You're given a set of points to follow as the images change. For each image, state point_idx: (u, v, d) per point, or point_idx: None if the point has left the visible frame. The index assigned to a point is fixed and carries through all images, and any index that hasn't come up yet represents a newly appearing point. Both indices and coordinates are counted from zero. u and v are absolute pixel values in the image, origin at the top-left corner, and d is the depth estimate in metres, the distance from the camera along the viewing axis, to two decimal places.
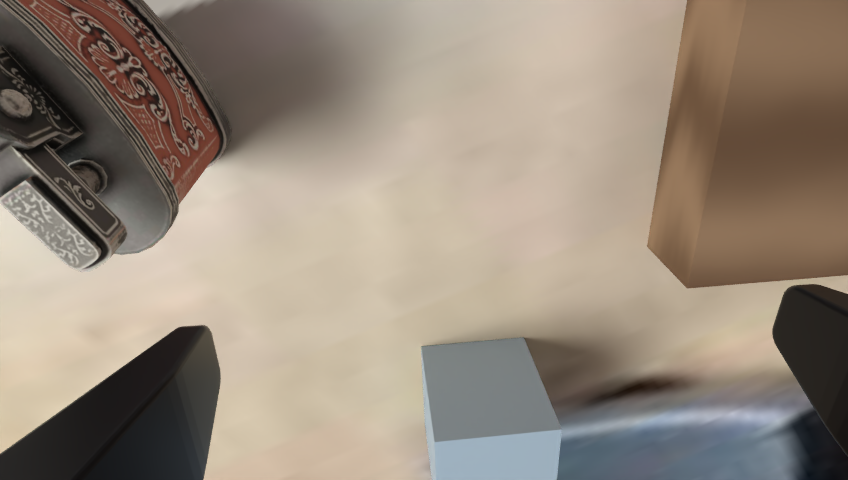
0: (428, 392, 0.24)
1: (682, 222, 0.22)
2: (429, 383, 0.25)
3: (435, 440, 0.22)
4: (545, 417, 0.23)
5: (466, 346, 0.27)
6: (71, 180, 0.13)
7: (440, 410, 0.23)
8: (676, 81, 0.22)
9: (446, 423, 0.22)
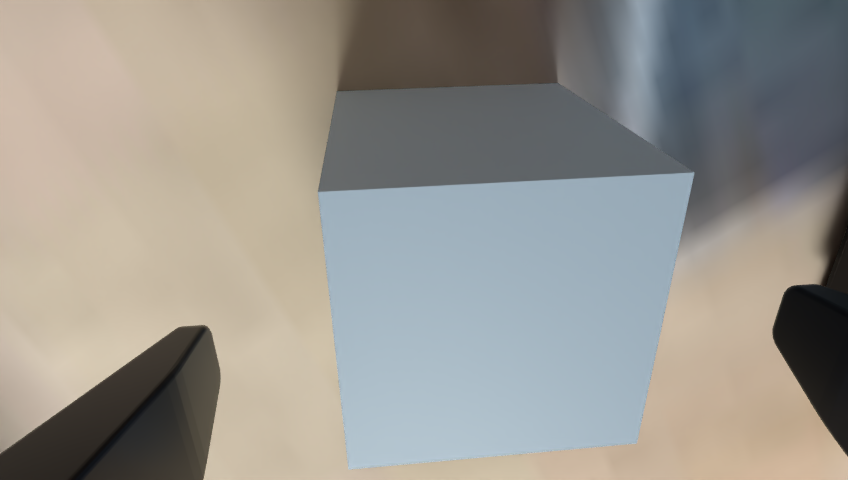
0: None
1: None
2: None
3: (348, 463, 0.09)
4: None
5: None
6: None
7: None
8: None
9: None
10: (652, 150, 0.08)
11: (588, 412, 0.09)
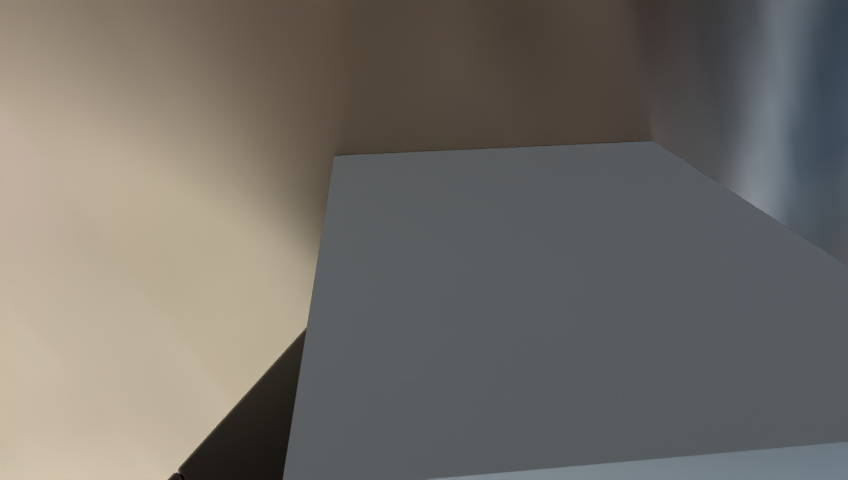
0: None
1: None
2: None
3: None
4: None
5: None
6: None
7: None
8: None
9: None
10: None
11: None
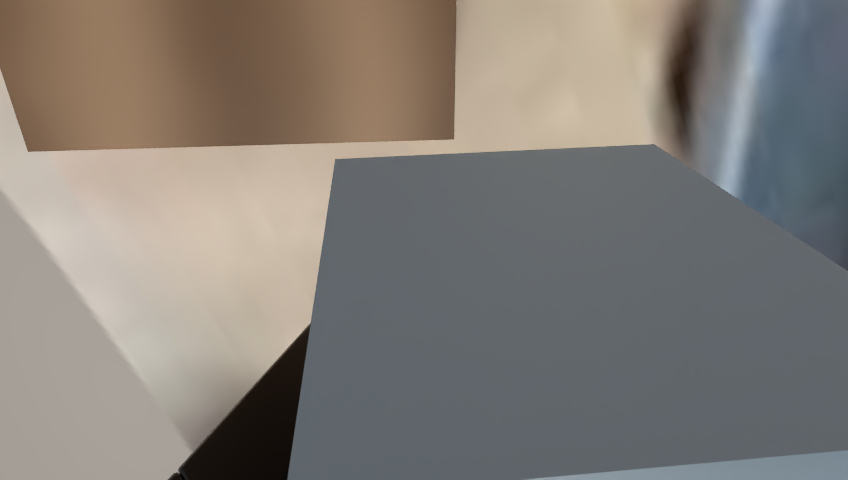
0: None
1: None
2: None
3: None
4: None
5: None
6: None
7: None
8: None
9: None
10: None
11: None
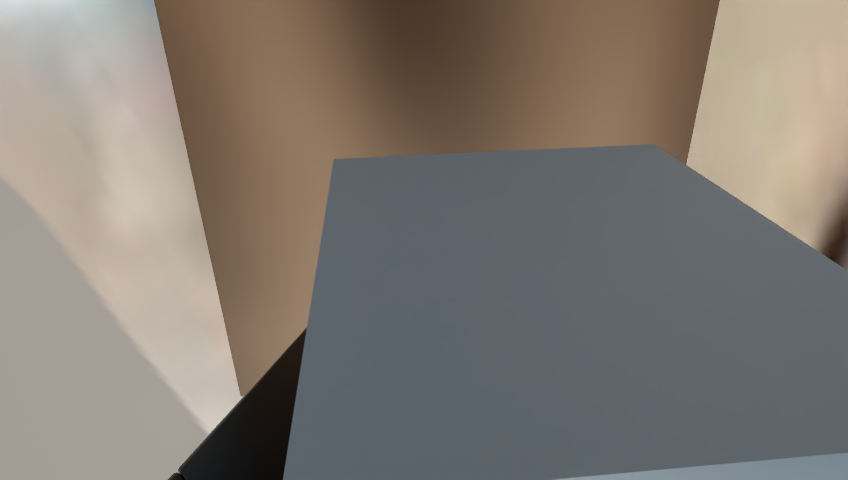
0: None
1: None
2: None
3: None
4: None
5: None
6: None
7: None
8: None
9: None
10: None
11: None
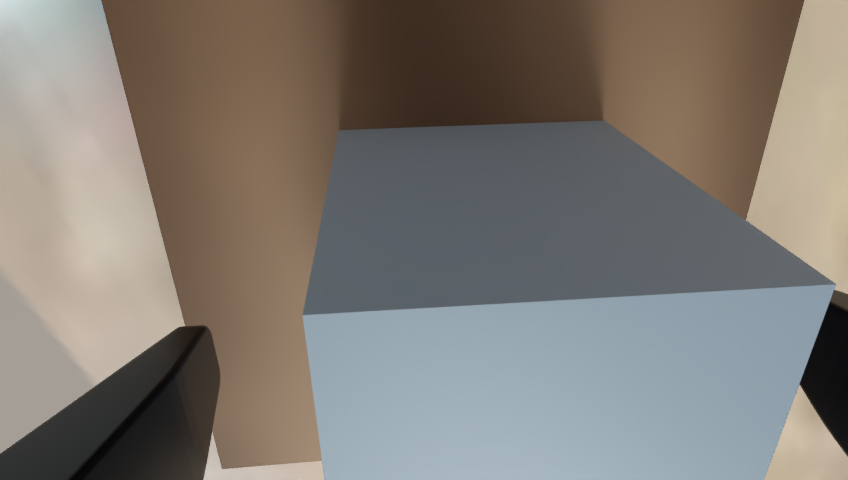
0: None
1: None
2: None
3: None
4: None
5: None
6: None
7: None
8: None
9: None
10: (760, 238, 0.06)
11: None
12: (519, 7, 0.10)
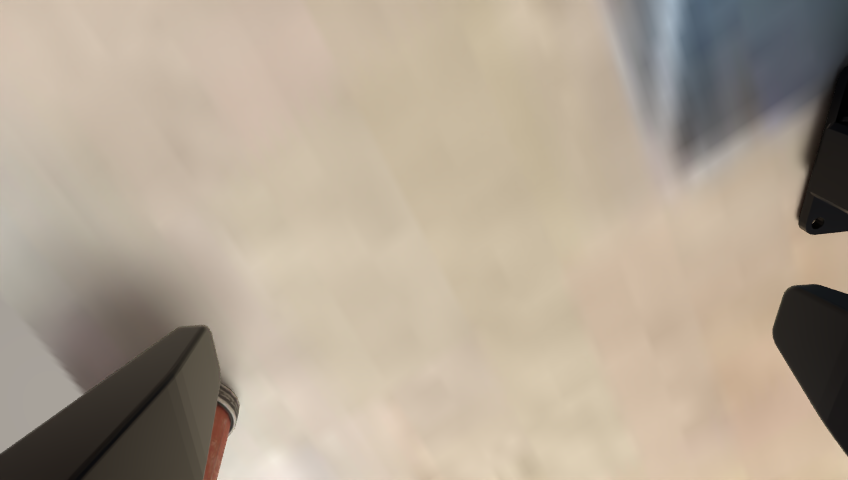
0: None
1: None
2: None
3: None
4: None
5: None
6: None
7: None
8: None
9: None
10: None
11: None
12: None
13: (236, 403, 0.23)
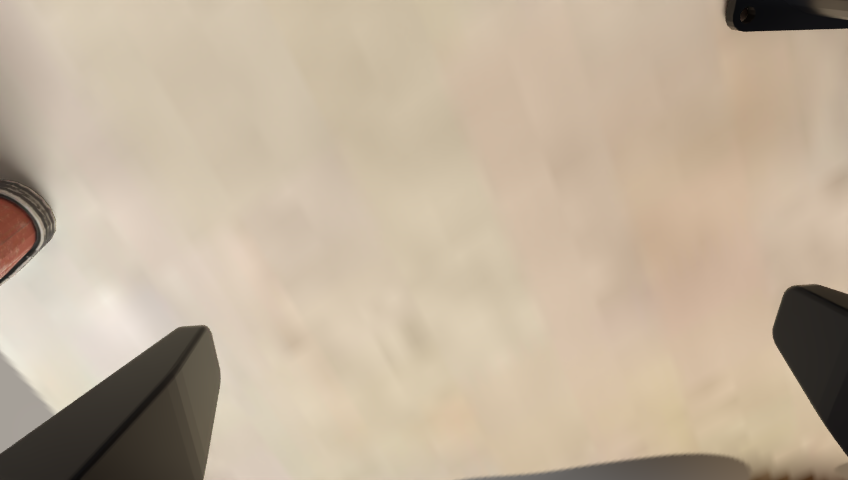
0: None
1: None
2: None
3: None
4: None
5: None
6: None
7: None
8: None
9: None
10: None
11: None
12: None
13: (48, 213, 0.19)
